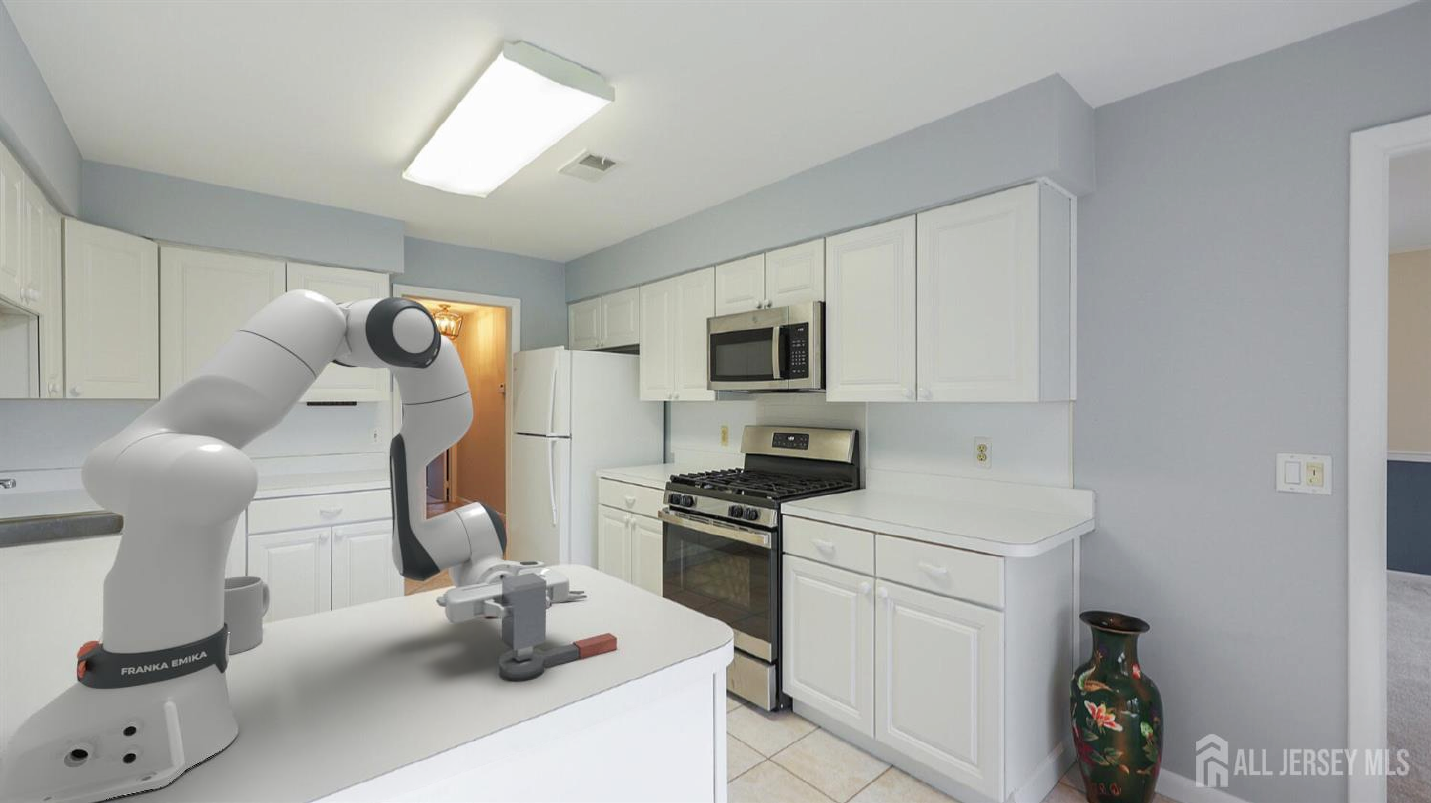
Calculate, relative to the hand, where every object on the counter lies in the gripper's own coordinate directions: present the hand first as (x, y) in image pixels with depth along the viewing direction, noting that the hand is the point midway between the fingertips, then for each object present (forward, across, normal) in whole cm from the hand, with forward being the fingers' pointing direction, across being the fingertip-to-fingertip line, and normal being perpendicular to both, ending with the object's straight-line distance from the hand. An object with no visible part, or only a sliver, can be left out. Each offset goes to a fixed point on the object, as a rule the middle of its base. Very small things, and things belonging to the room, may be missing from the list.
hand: (526, 608), depth 98 cm
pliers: (-29, +13, +11) cm, 33 cm away
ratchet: (-1, +6, +10) cm, 12 cm away
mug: (-41, -35, +10) cm, 55 cm away
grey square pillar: (-1, 0, +6) cm, 6 cm away
